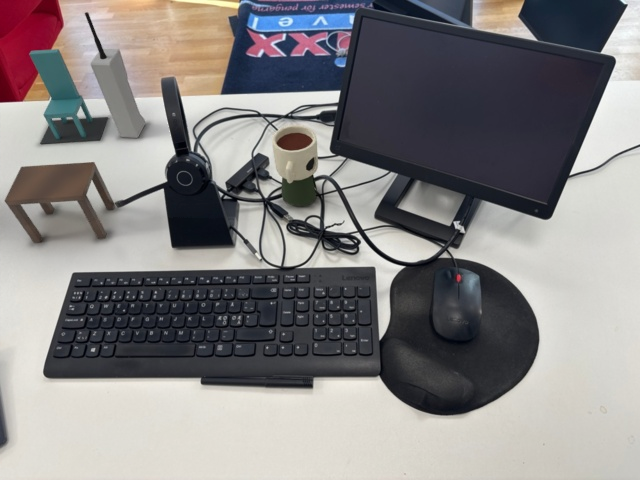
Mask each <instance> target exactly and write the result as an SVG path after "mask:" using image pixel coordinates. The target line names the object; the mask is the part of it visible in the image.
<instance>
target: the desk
mask: <svg viewBox="0 0 640 480" xmlns="http://www.w3.org/2000/svg"><path fill="white" fill-rule="evenodd" d="M91 183H93V185H94V187H95V189H96V191H97V193H98V195H99V197H100V199H101V201H102V203H103V205H104V207H105V209H106V210H107V211H111V210H113V211H114V209H115V206H116V204H115V202H114V200H113V198H112V196H111V193H110V192H109V189H108V187H107V185H106V183H105V181H104V179H103V177H102V175H101V173H100V171H99V169H98V166H97V164H96V162H95V161H88V162H73V163H56V164H41V165H27V166H26V165H25V166H20V168H19V170H18V172H17V174H16V177H15V178H14V180H13V183H12V184H11V187H10V189H9V191H8V193H7V195H6V196H5V199H4V202H5V203H4V204H6V206H7V207H8V208H9V210H10V211H11V213H12V214H13V215H14V217H15V218H16V219H17V221H18V222H19V224H20V225H21V227H22V228H23V230H24V231H25V233H27V236H28V237H29V238H30V240H31V241H32V242H33V243H34V244H40V243H42V241H43V238H44V237H43V236H42V234H41V233H40V231H39V229H38V228H37V226H36V225H35V223H34V222H33V220H32V219H31V217H30V216H29V214H28V213H27V212H26V210H25V209H24V208H23V207H24V206H22V205H33V204H34V205H35V204H39V205H40V207H41V209H42V210H43V212H44V213H45V214H46V215H49V214H50V215H51V214H53V213H54V211H55V207H54V206H53V204H52V203H66V202H77V203H78V205H79V207H80V209H81V210H82V212H83V214H84V216H85V218H86V219H87V221H88V223H89V225H90V227H91V228H92V230H93V232H94V234H95V236H96V237H97V239H98V240H101V239H106V236H107V231H106V229H105V227H104V226H103V224H102V222H101V220H100V218H99V216H98V214H97V212H96V210H95V208H94V206H93V205H92V203H91V201H90V199H89V197H88V192H89V189H90V185H91Z"/></svg>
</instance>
